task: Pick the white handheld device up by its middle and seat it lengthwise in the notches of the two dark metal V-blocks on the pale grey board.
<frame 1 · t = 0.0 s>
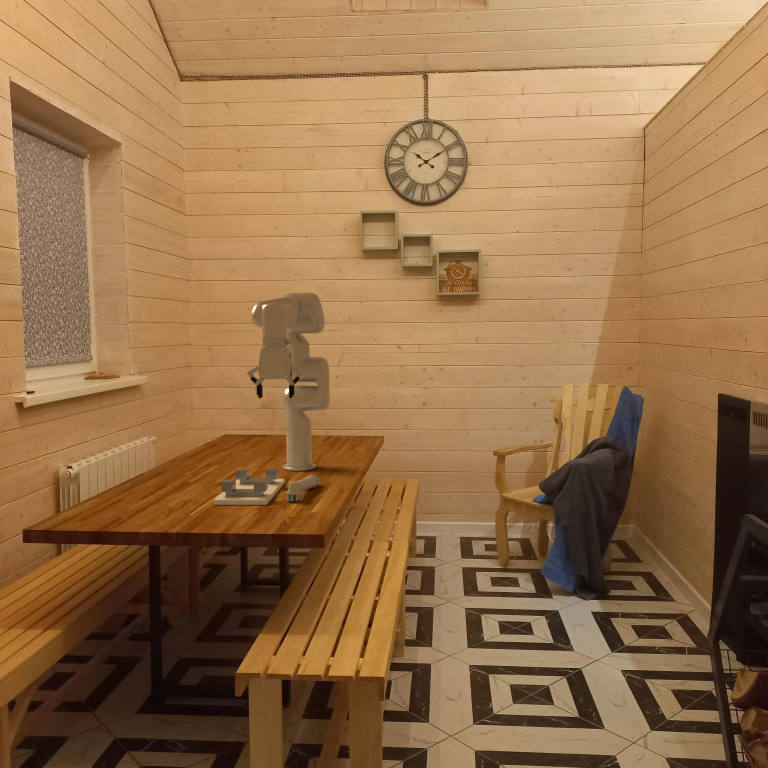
hand: (275, 397, 215), 31 cm above the table, tool pointing down, fingers open, 9 cm apart
v blocks: (251, 488, 220), resting on stand board
white handheld device: (304, 494, 220), on the table
stand board: (251, 493, 220), on the table
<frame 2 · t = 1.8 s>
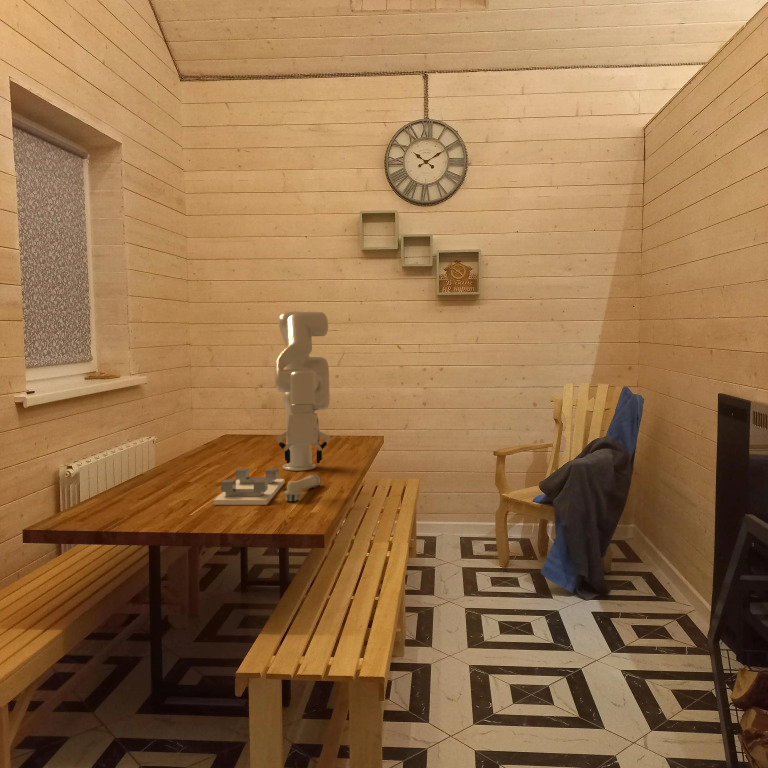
hand: (303, 462, 218), 10 cm above the table, tool pointing down, fingers open, 9 cm apart
nothing on the table moved.
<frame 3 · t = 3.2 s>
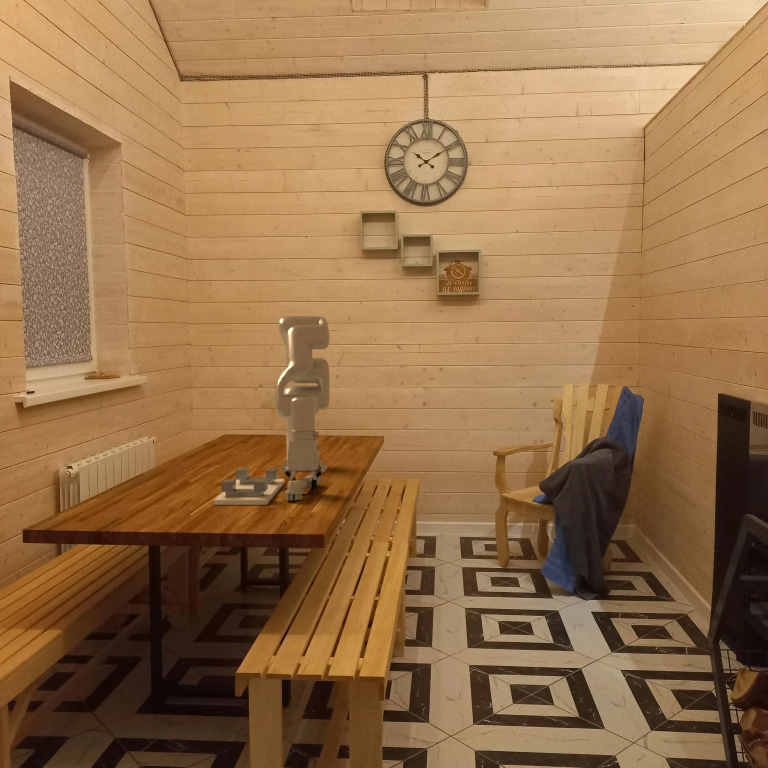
hand: (303, 490, 219), 1 cm above the table, tool pointing down, fingers closed on white handheld device, 5 cm apart
white handheld device: (304, 494, 220), on the table, touching gripper
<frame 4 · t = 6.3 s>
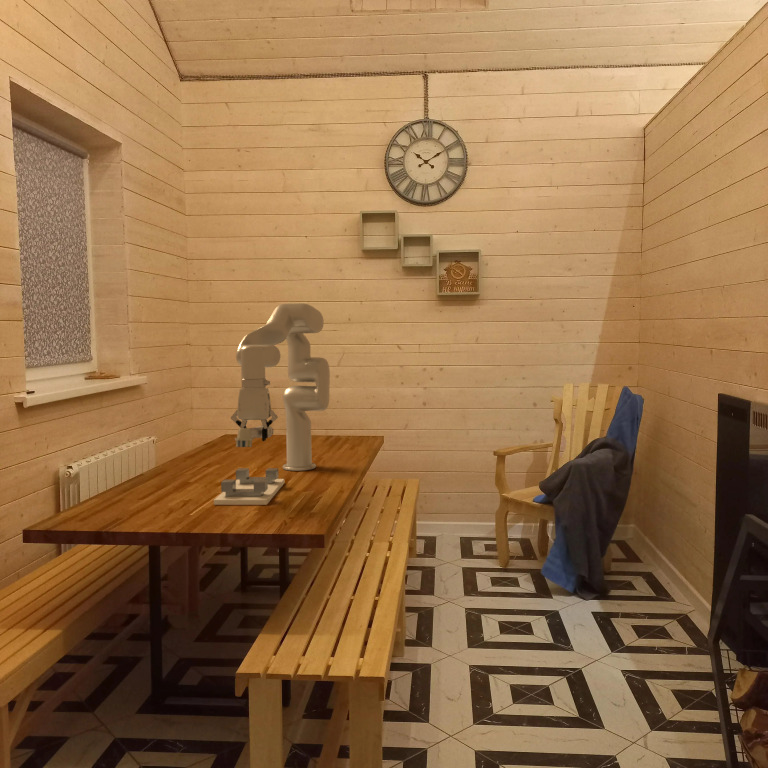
hand: (254, 440, 219), 17 cm above the table, tool pointing down, fingers closed on white handheld device, 5 cm apart
white handheld device: (255, 443, 219), point 16 cm above the table, touching gripper
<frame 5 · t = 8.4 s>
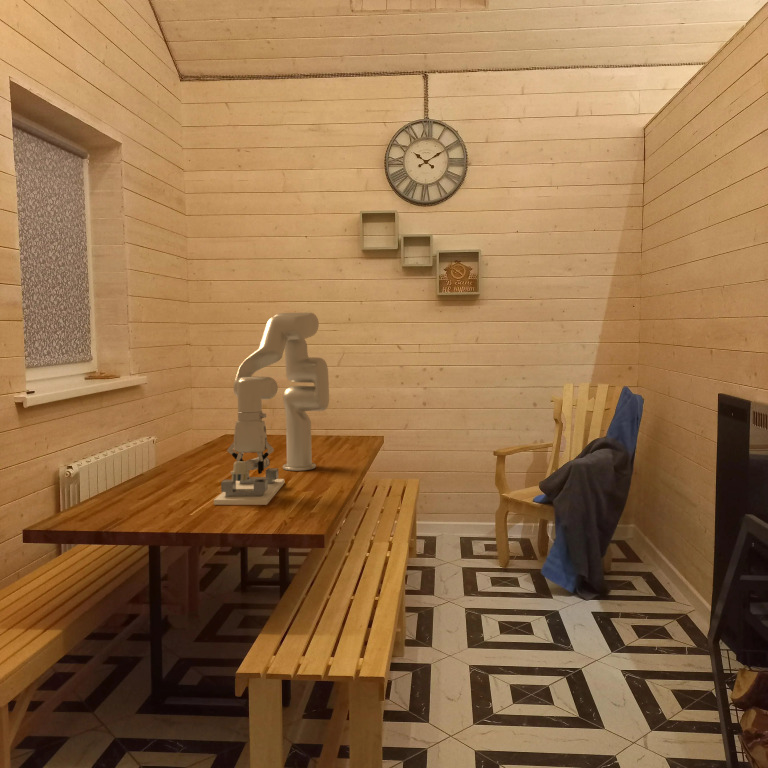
hand: (250, 472, 220), 7 cm above the table, tool pointing down, fingers closed on white handheld device, 5 cm apart
white handheld device: (251, 475, 220), point 6 cm above the table, touching gripper, v blocks
when the fingers open (6 cm above the table, at t = 9.6 s): white handheld device stays where it is, resting on v blocks.
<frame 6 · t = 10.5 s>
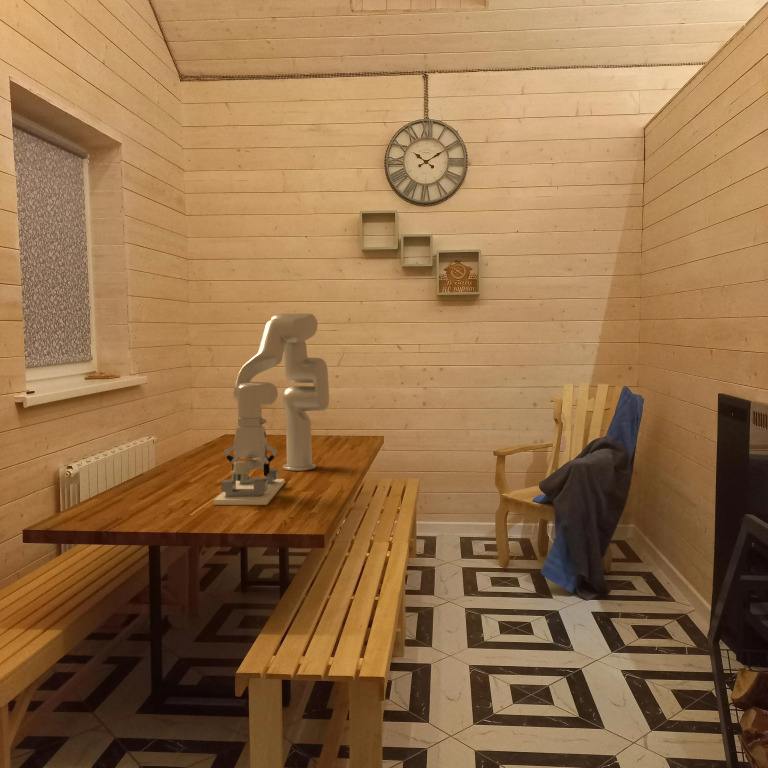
hand: (251, 475, 220), 6 cm above the table, tool pointing down, fingers open, 9 cm apart
white handheld device: (251, 475, 220), point 6 cm above the table, touching v blocks
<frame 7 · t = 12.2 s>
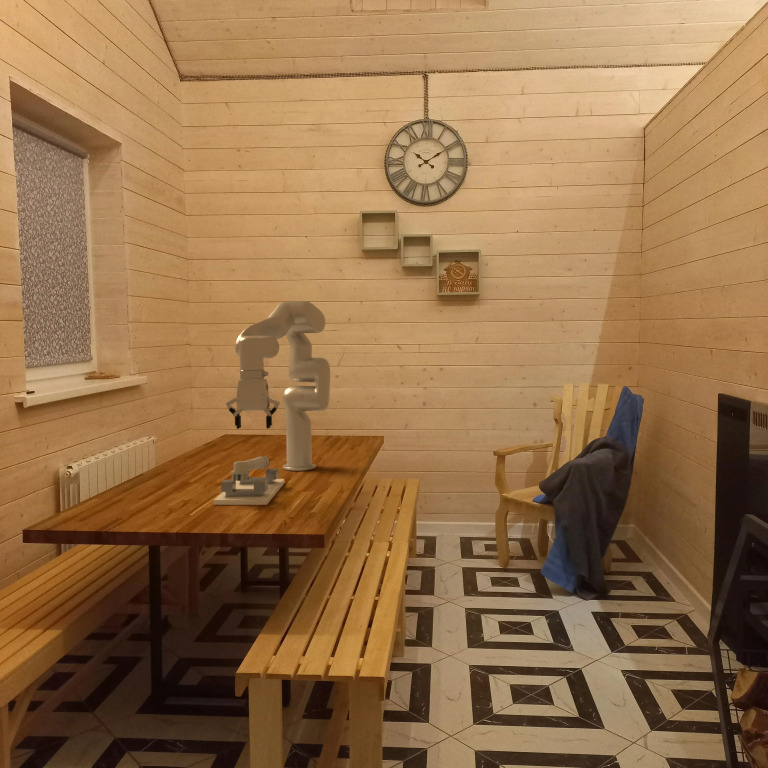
hand: (253, 428, 221), 21 cm above the table, tool pointing down, fingers open, 9 cm apart
nothing on the table moved.
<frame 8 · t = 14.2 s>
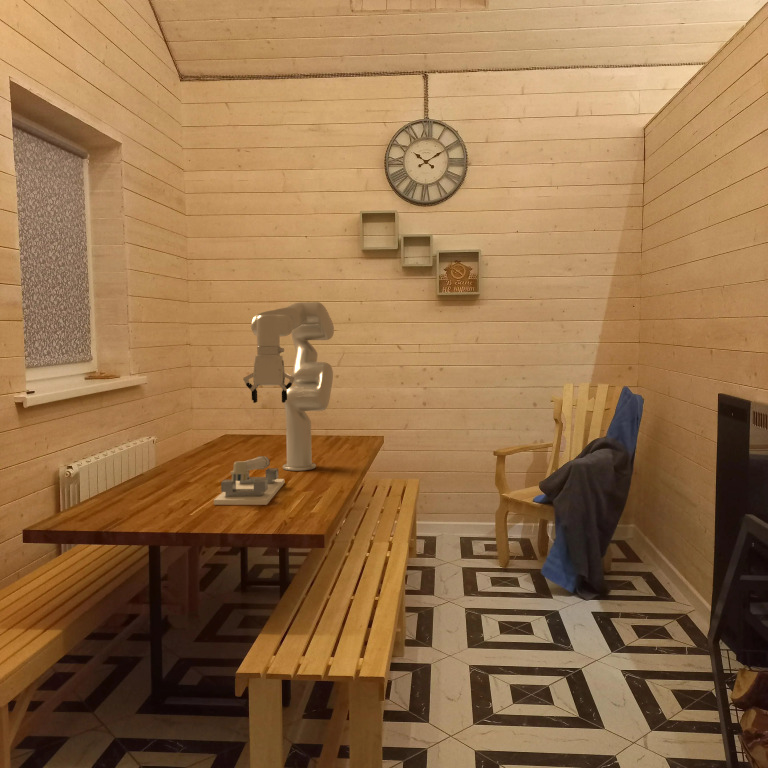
hand: (269, 402, 230), 28 cm above the table, tool pointing down, fingers open, 9 cm apart
nothing on the table moved.
at the end: white handheld device 0.0 cm off-centre on the v blocks, point 4.3 cm above the v blocks's base; white handheld device touching v blocks; the gripper is holding nothing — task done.
